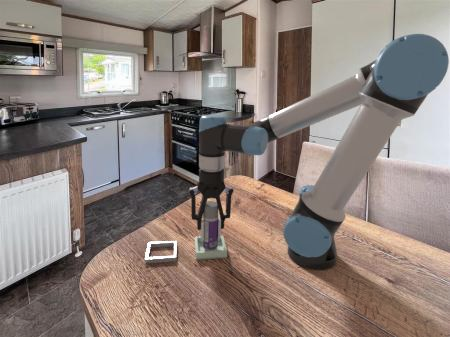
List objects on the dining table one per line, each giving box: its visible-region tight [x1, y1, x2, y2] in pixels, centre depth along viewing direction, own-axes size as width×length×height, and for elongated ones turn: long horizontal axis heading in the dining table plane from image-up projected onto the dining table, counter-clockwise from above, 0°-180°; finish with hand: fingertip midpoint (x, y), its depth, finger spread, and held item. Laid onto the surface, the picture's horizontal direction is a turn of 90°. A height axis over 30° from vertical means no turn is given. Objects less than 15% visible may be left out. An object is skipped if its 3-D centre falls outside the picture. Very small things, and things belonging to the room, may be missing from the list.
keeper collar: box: [144, 240, 178, 264], centre depth 89 cm, size 9×9×2 cm
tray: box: [194, 235, 228, 261], centre depth 91 cm, size 10×10×2 cm
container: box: [202, 200, 219, 250], centre depth 89 cm, size 5×5×15 cm
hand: (210, 237), depth 90 cm, fingers closed on container, 5 cm apart
